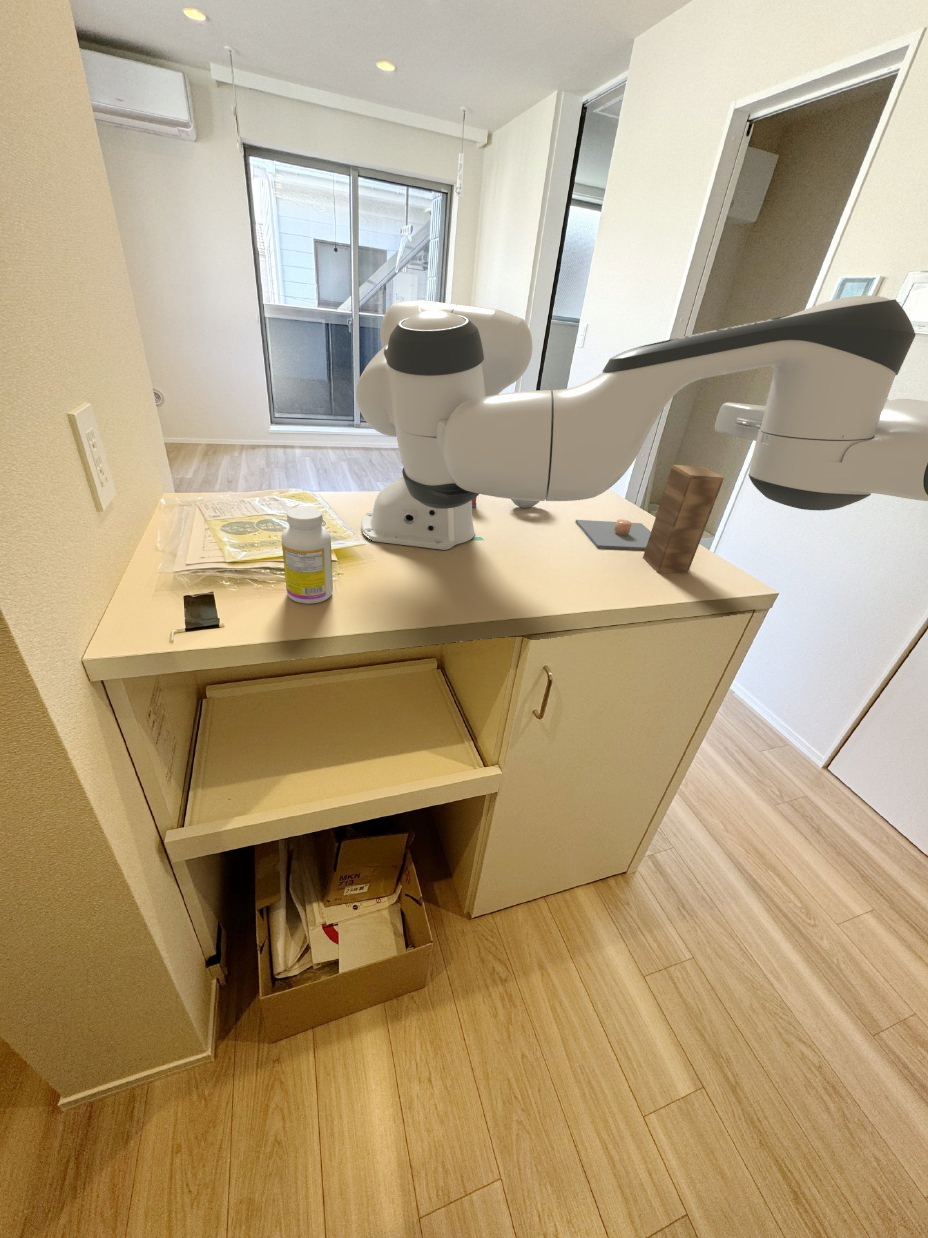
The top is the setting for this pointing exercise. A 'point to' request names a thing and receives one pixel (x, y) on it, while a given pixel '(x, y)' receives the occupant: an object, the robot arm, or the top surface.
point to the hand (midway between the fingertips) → (765, 418)
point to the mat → (615, 535)
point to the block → (682, 518)
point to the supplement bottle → (307, 556)
